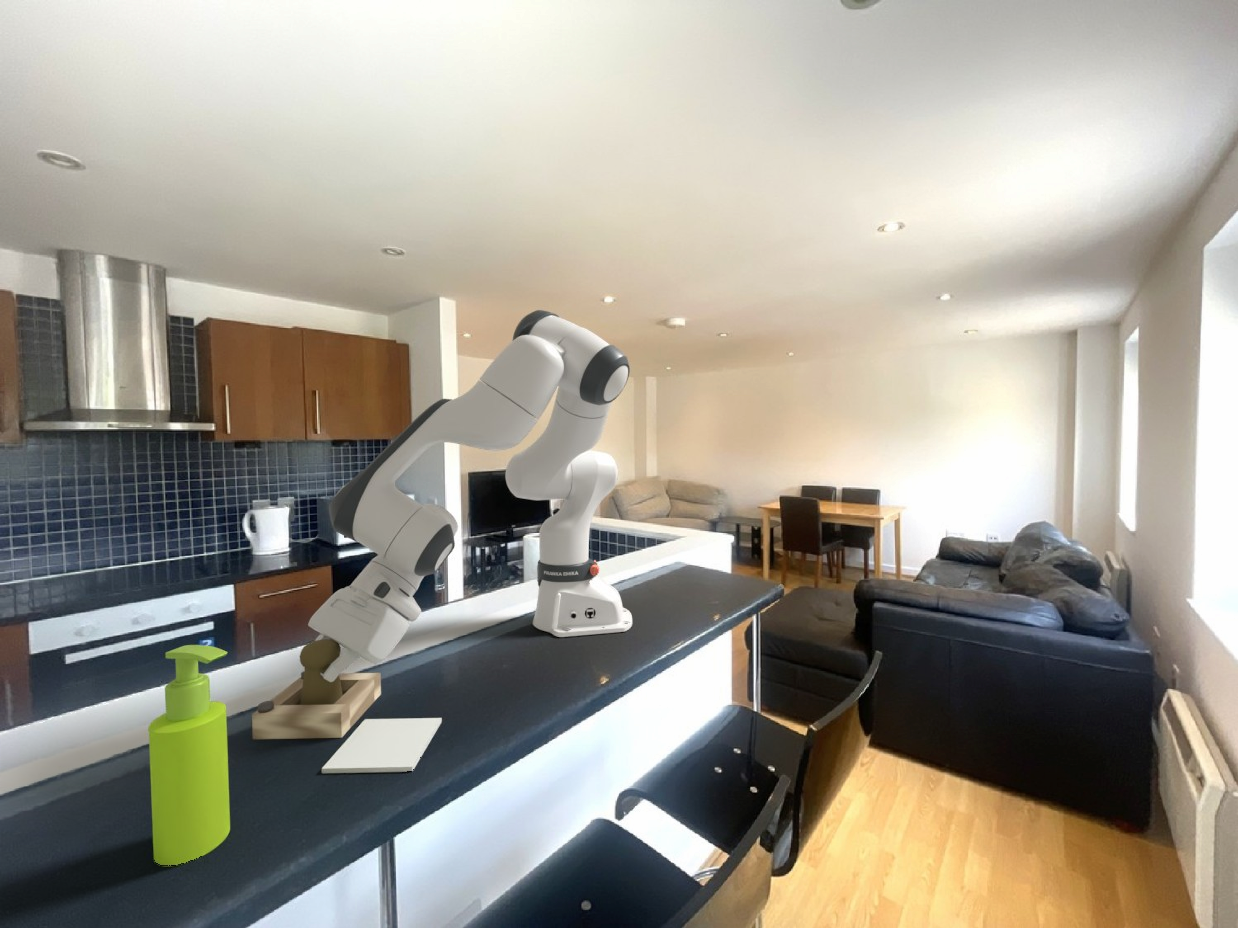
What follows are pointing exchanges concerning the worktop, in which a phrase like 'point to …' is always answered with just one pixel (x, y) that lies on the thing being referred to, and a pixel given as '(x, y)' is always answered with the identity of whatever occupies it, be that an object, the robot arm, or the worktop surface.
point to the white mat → (384, 746)
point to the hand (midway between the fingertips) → (316, 672)
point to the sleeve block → (316, 710)
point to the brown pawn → (314, 662)
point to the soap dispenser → (189, 763)
